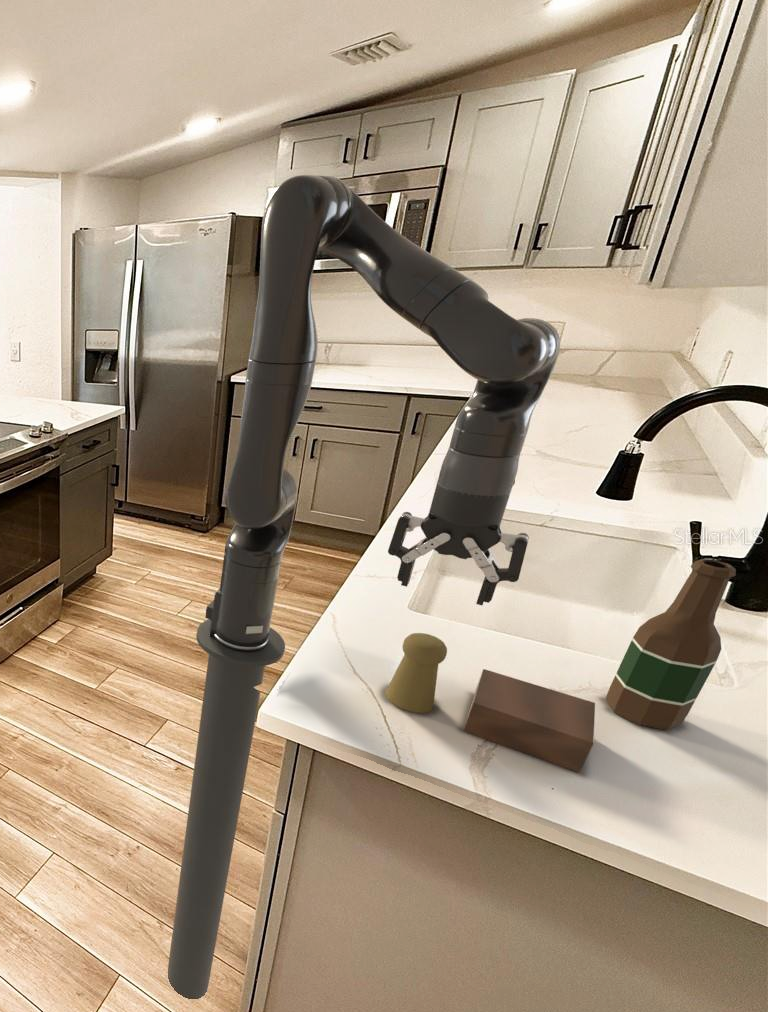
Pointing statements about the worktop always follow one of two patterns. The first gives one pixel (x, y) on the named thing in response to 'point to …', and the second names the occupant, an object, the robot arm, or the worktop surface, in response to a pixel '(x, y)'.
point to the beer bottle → (672, 653)
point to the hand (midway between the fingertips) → (441, 593)
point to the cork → (417, 673)
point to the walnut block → (532, 719)
